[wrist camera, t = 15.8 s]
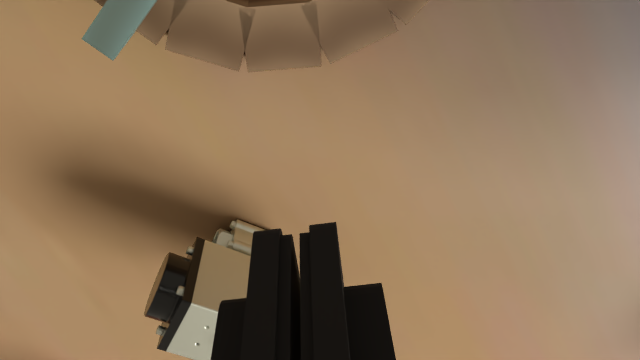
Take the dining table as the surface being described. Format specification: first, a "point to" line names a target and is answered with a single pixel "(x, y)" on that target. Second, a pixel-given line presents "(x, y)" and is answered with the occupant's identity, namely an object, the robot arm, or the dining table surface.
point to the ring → (251, 28)
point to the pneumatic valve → (200, 290)
